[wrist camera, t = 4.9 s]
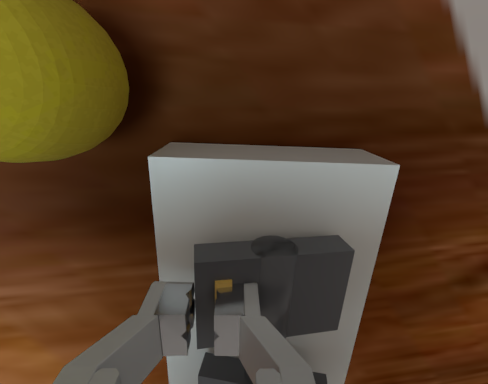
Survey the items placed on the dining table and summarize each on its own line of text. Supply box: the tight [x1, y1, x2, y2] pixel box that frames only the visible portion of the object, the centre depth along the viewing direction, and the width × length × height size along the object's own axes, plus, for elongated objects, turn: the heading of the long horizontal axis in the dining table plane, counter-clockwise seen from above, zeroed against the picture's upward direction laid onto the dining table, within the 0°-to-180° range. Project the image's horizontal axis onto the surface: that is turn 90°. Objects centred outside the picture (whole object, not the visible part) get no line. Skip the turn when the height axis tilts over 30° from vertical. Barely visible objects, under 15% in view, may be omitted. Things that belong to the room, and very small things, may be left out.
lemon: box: [0, 0, 129, 163], centre depth 8 cm, size 6×6×8 cm
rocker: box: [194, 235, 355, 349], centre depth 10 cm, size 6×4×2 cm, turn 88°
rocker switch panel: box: [148, 142, 400, 384], centre depth 16 cm, size 10×28×4 cm, turn 178°
